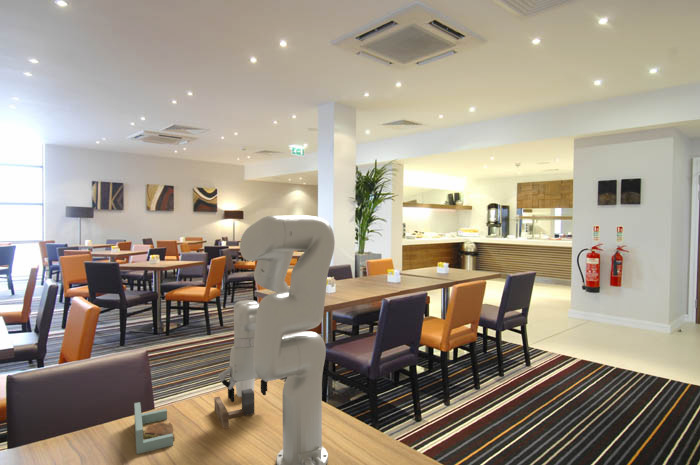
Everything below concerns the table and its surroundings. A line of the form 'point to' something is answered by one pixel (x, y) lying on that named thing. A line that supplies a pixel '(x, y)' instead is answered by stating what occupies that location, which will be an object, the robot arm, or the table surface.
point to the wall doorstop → (246, 410)
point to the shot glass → (244, 386)
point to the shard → (158, 430)
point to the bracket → (139, 420)
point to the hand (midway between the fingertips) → (248, 397)
